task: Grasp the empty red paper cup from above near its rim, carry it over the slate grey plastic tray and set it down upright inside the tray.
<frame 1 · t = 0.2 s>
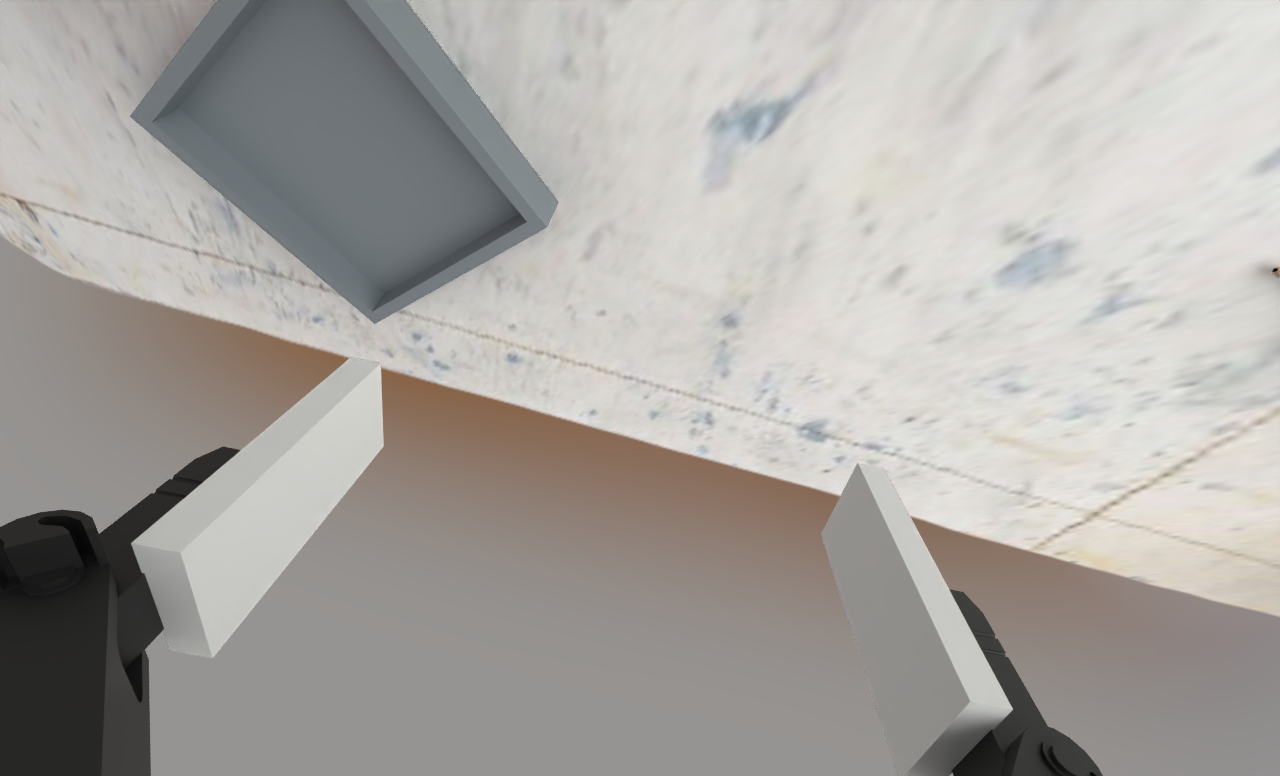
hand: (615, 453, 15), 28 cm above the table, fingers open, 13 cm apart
tray: (367, 150, 40), on the table
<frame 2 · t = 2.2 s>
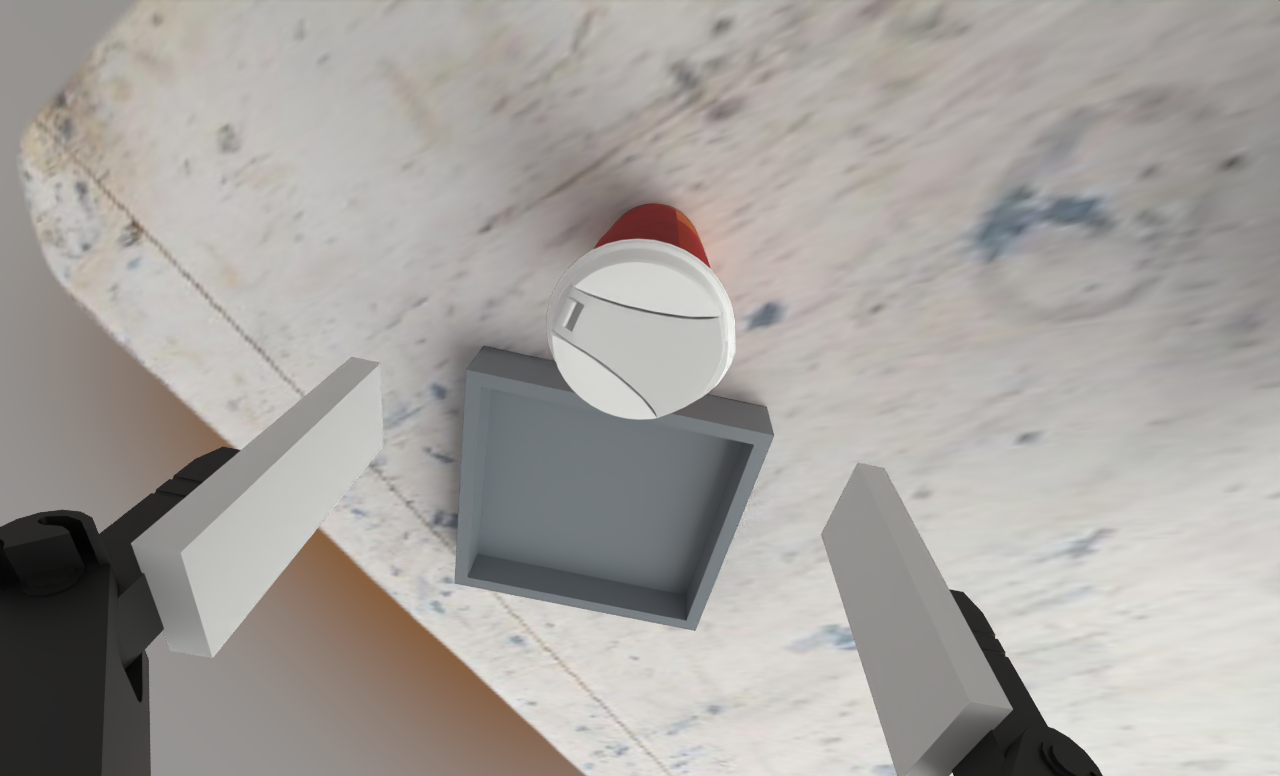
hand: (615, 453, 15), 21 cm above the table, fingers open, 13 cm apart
tray: (602, 486, 43), on the table
paper cup: (655, 249, 33), on the table
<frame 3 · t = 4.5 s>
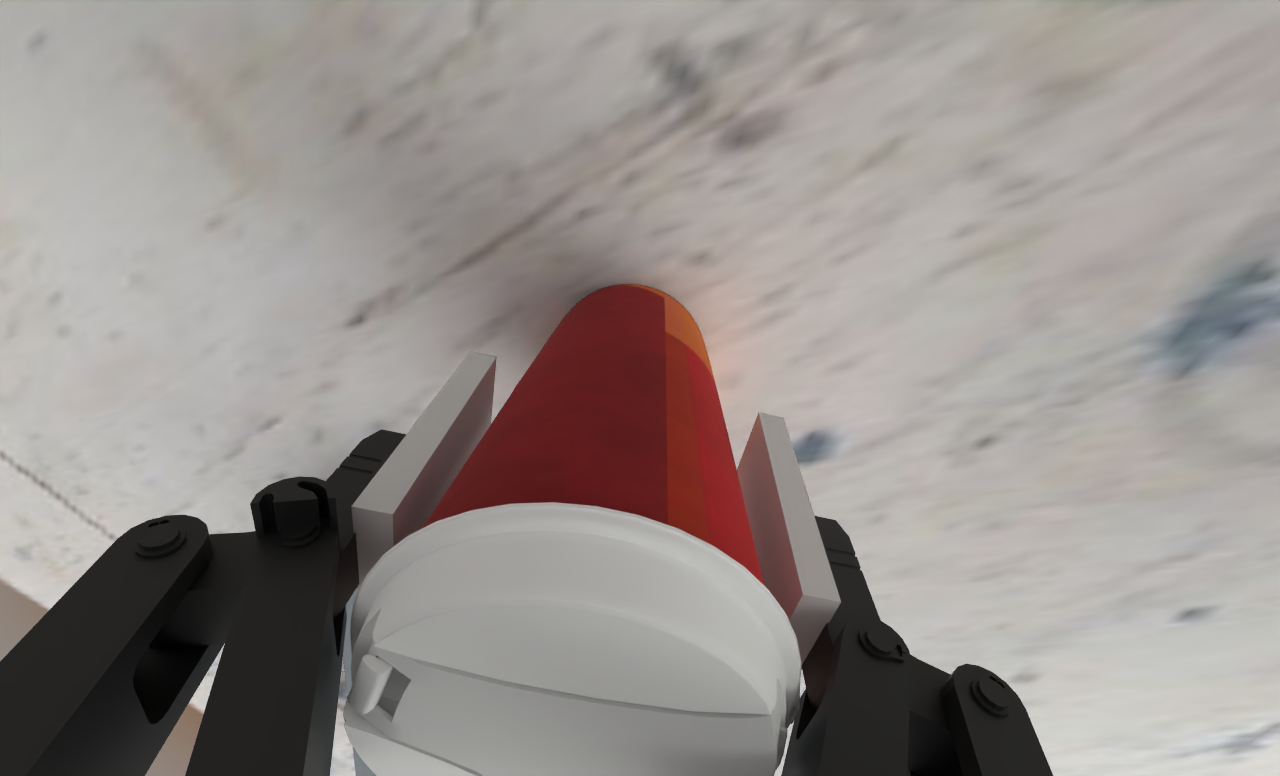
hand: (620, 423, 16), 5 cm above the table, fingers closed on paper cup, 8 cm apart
tray: (563, 659, 30), on the table
paper cup: (632, 352, 21), on the table, touching gripper
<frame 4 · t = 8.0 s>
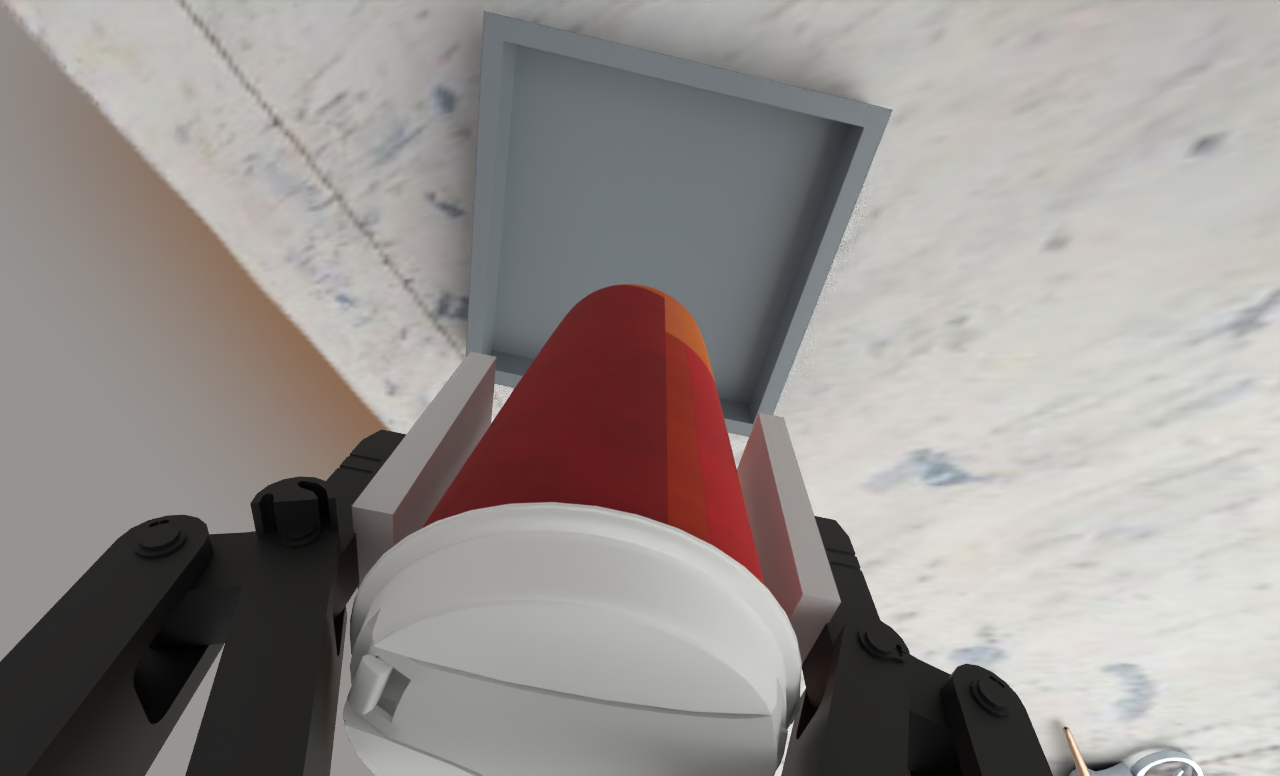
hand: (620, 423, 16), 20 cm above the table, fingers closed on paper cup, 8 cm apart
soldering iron: (1135, 770, 59), on the table
tray: (650, 246, 34), on the table
paper cup: (632, 352, 21), point 15 cm above the table, touching gripper
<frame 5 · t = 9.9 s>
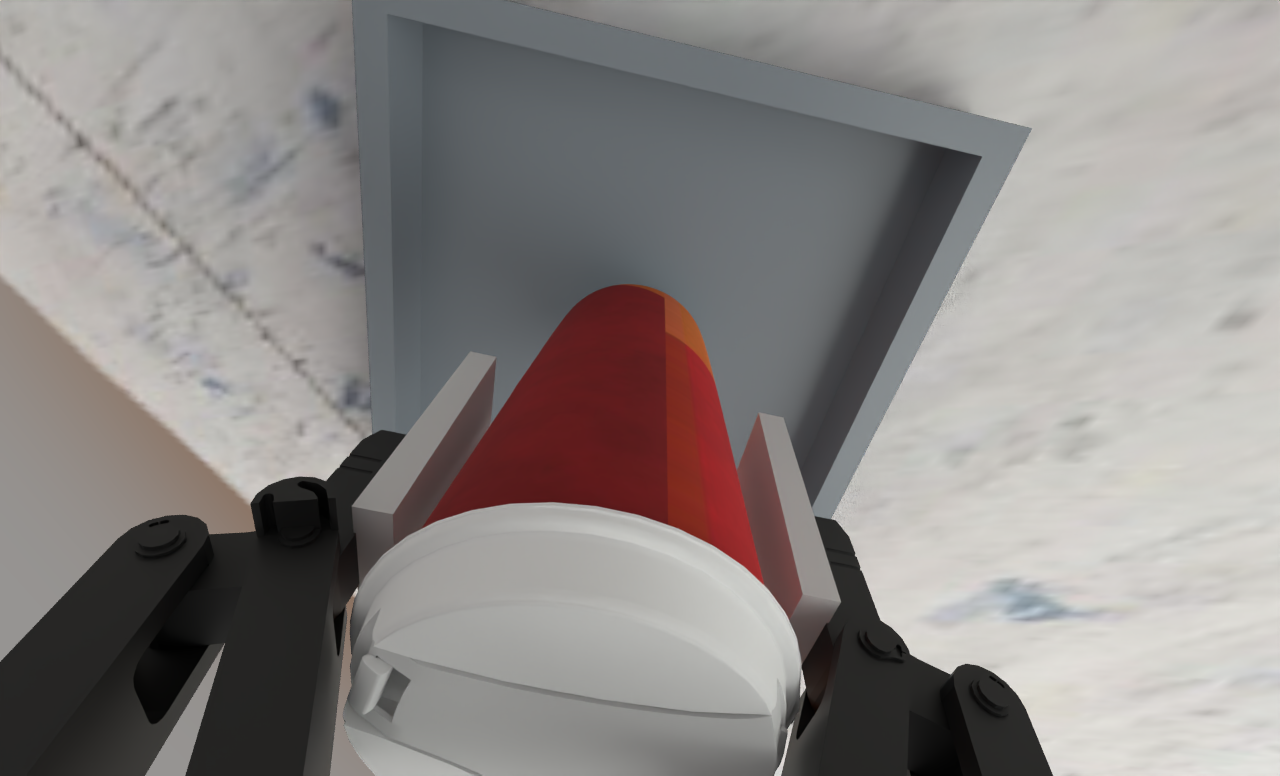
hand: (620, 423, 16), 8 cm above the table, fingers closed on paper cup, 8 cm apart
tray: (638, 319, 23), on the table
paper cup: (632, 352, 21), point 3 cm above the table, touching gripper
when the fingers open (7 cm above the table, at t = 11.0 s): paper cup drops 1 cm, resting on tray.
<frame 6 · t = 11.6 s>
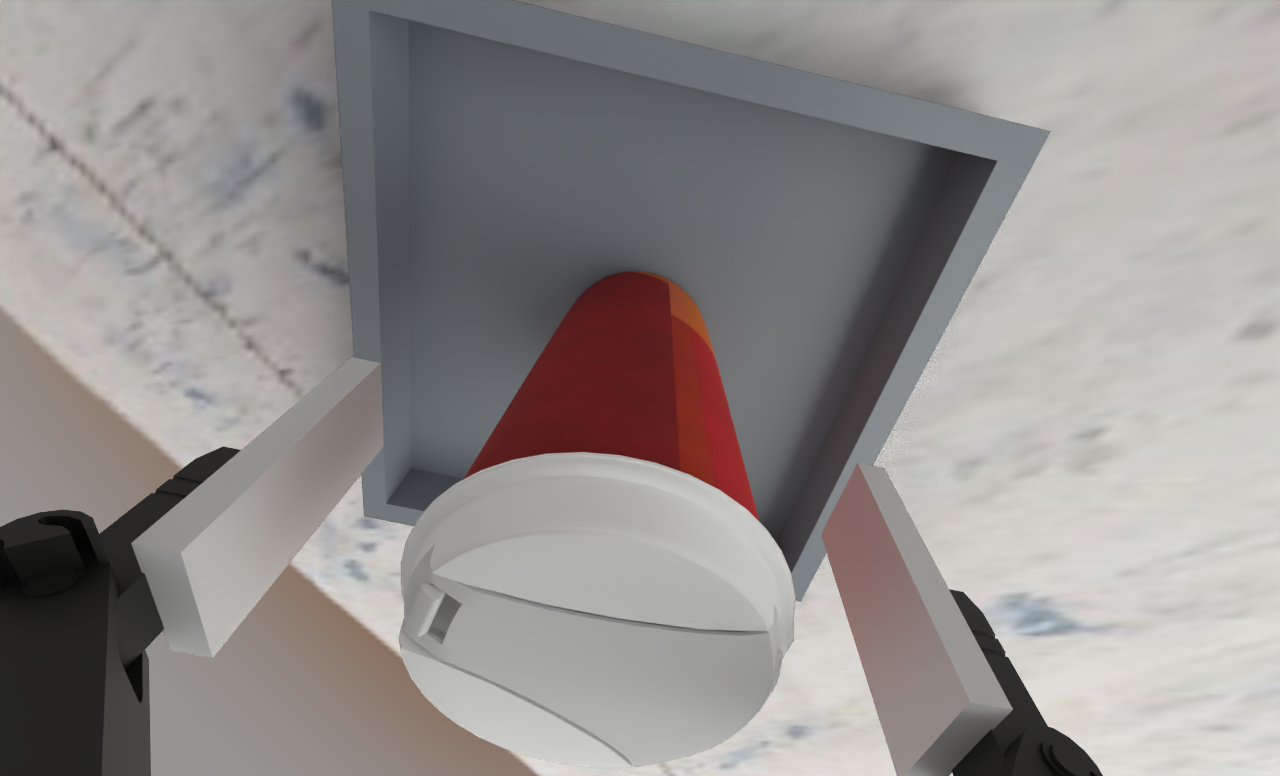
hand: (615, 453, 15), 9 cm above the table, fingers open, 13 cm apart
tray: (636, 328, 23), on the table
paper cup: (637, 336, 22), point 1 cm above the table, touching tray
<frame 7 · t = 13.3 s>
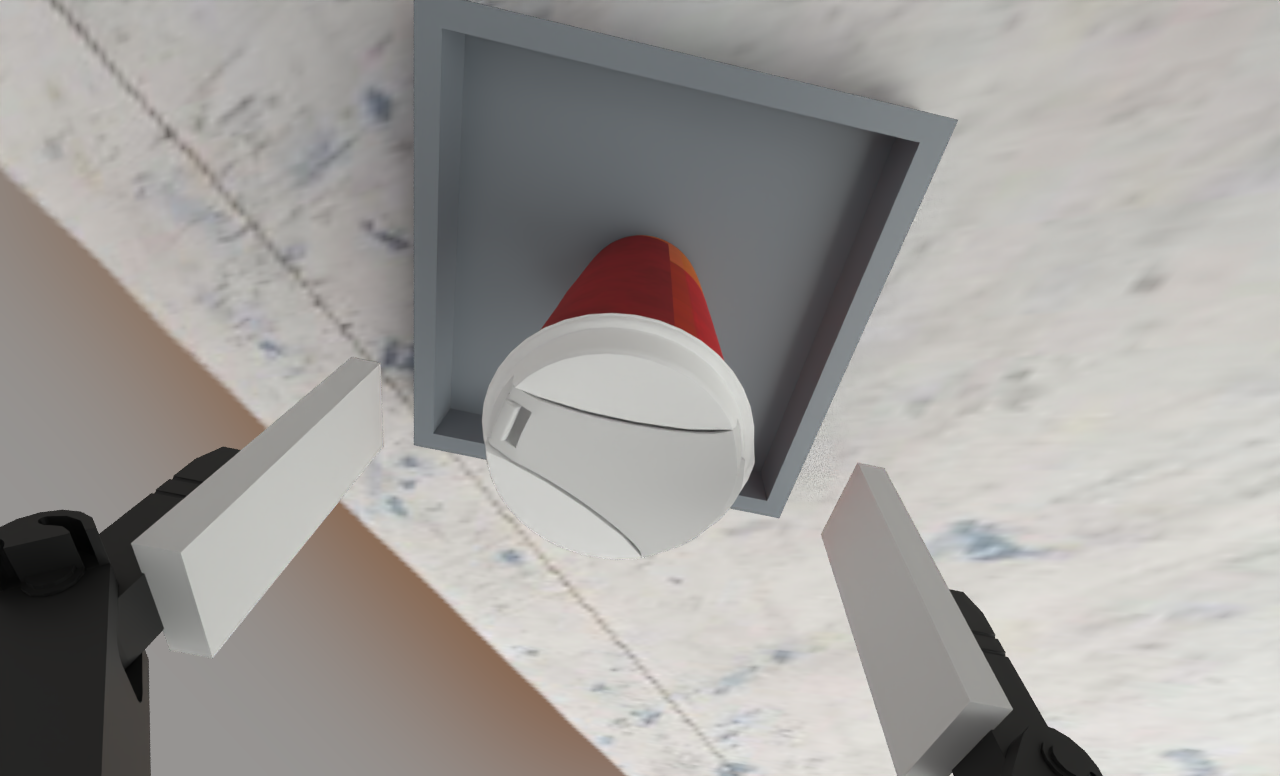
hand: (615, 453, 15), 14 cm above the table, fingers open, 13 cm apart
tray: (641, 286, 27), on the table
paper cup: (642, 291, 27), point 1 cm above the table, touching tray
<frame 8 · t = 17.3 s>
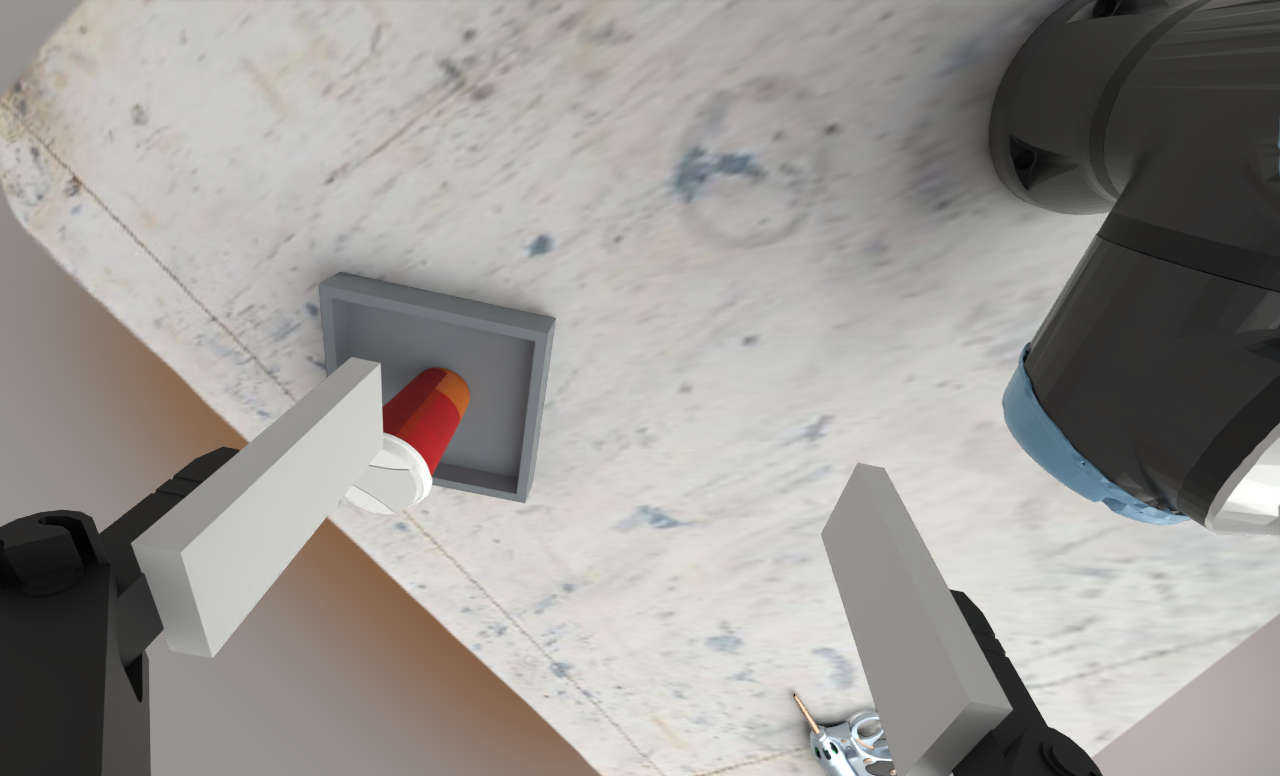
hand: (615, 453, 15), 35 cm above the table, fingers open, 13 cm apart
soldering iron: (862, 728, 81), on the table
tray: (446, 387, 55), on the table
paper cup: (444, 391, 55), point 1 cm above the table, touching tray
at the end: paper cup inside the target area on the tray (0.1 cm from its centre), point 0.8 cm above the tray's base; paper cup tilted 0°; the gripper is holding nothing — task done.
